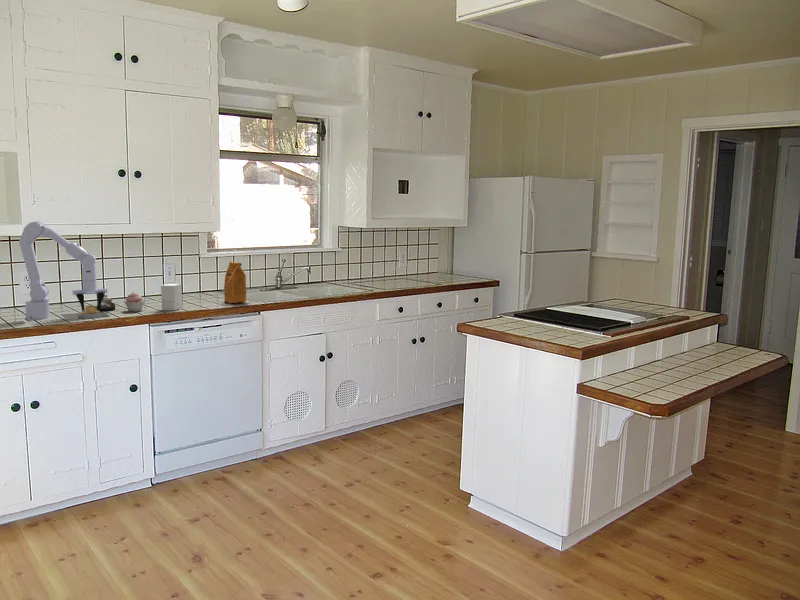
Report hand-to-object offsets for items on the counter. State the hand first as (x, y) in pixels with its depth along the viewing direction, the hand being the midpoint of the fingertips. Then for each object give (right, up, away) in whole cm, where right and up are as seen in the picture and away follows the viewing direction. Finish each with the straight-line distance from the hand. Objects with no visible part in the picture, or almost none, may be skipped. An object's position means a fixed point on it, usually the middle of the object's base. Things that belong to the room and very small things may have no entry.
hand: (91, 309), depth 312 cm
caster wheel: (-1, -2, +19) cm, 19 cm away
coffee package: (+53, +3, +55) cm, 76 cm away
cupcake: (+12, -1, +22) cm, 25 cm away
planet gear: (0, -3, 0) cm, 3 cm away
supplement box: (+28, -1, +29) cm, 40 cm away
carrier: (-3, -4, +2) cm, 5 cm away
